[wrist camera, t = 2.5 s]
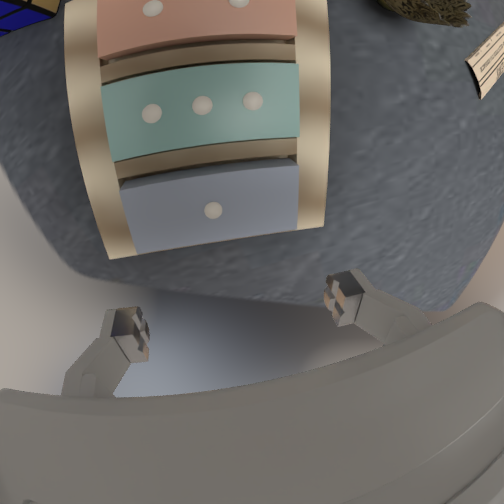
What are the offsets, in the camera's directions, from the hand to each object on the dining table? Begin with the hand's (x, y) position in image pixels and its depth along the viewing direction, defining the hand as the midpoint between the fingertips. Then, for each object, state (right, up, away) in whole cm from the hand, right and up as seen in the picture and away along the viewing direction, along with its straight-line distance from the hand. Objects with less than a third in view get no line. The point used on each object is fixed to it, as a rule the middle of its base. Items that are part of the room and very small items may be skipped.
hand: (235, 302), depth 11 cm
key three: (-3, +12, +4) cm, 13 cm away
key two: (-3, +17, 0) cm, 18 cm away
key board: (-3, +13, +6) cm, 15 cm away
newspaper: (+36, +31, +5) cm, 48 cm away
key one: (-2, +6, +8) cm, 11 cm away
